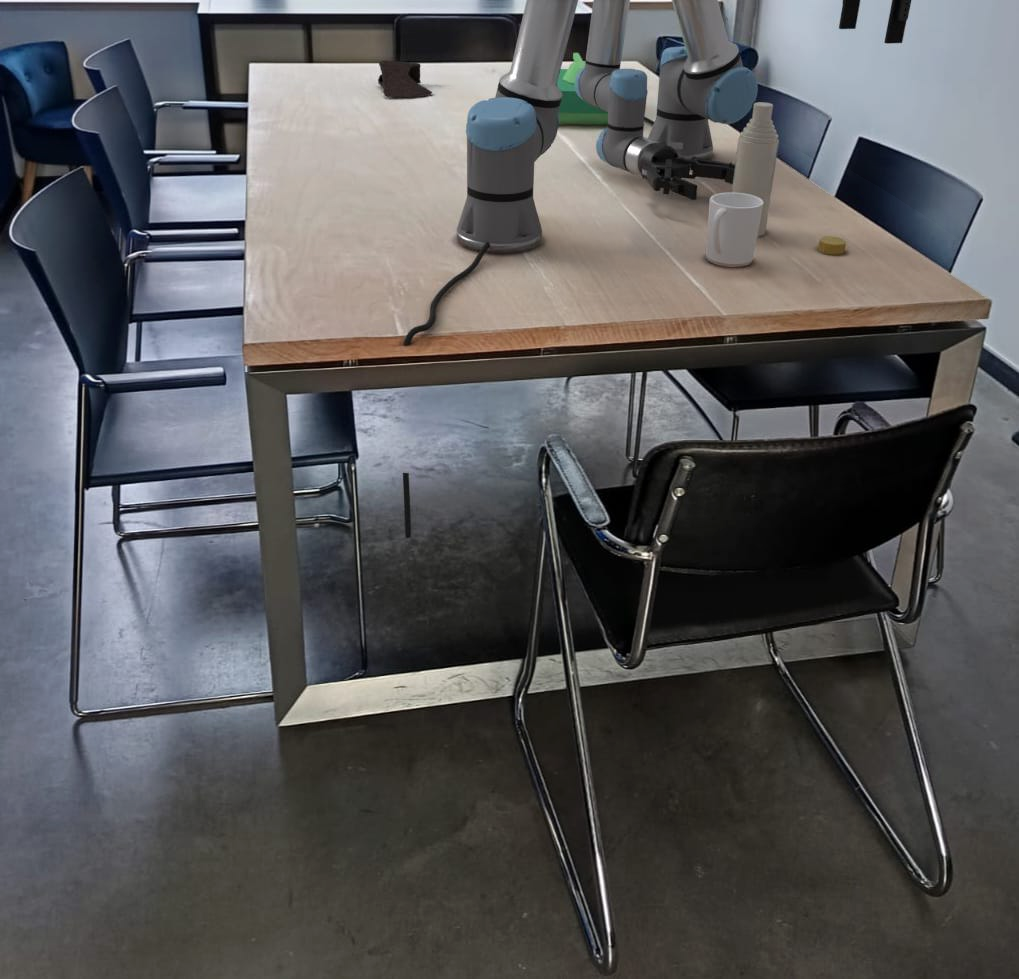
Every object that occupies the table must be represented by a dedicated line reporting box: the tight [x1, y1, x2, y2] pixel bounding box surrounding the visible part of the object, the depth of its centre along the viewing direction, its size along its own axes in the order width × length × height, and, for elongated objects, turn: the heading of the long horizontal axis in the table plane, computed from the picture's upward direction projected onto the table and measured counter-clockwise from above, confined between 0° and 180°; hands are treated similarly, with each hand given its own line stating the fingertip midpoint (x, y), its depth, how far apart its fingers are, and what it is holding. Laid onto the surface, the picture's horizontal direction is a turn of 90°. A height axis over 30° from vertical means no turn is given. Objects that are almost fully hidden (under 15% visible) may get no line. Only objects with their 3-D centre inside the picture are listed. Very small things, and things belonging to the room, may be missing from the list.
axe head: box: [377, 59, 433, 99], centre depth 299 cm, size 18×8×15 cm
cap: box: [817, 235, 847, 256], centre depth 194 cm, size 5×5×2 cm
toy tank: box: [557, 52, 608, 126], centre depth 280 cm, size 18×12×35 cm
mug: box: [705, 192, 764, 268], centre depth 186 cm, size 11×9×10 cm
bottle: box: [731, 101, 780, 238], centre depth 197 cm, size 7×7×23 cm
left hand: (869, 35), depth 176 cm, fingers open, 13 cm apart
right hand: (723, 187), depth 206 cm, fingers open, 13 cm apart
